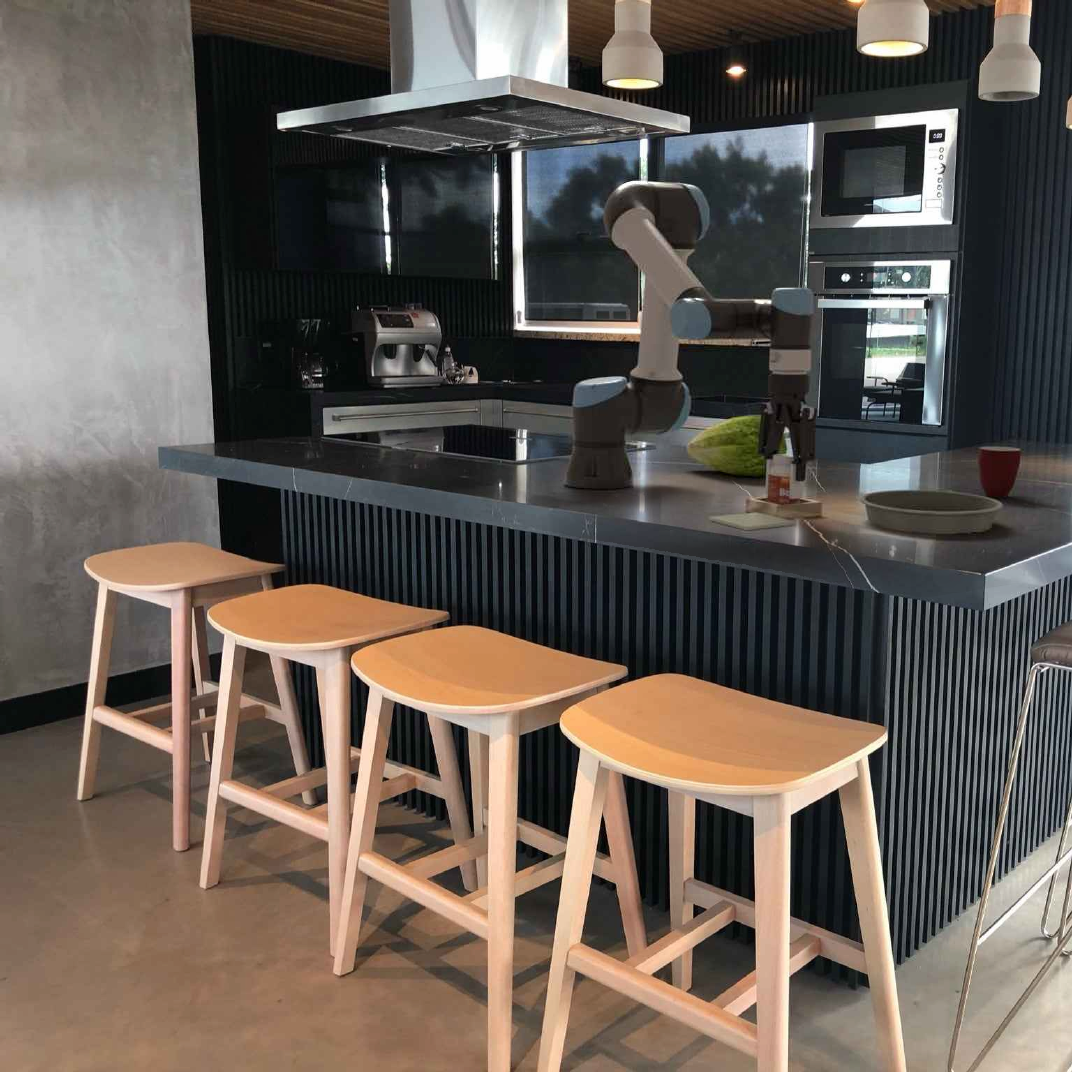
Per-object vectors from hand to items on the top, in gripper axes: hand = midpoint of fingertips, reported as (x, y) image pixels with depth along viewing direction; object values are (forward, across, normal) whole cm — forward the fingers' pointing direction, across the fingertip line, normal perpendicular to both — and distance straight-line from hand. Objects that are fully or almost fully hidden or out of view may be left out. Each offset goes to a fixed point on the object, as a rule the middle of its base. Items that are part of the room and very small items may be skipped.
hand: (784, 495), depth 218 cm
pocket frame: (+3, 0, 0) cm, 3 cm away
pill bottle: (+4, 0, 0) cm, 4 cm away
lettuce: (+4, -49, +26) cm, 56 cm away
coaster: (+3, +5, -12) cm, 13 cm away
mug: (+4, +4, +54) cm, 54 cm away
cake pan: (+4, +20, +17) cm, 27 cm away
